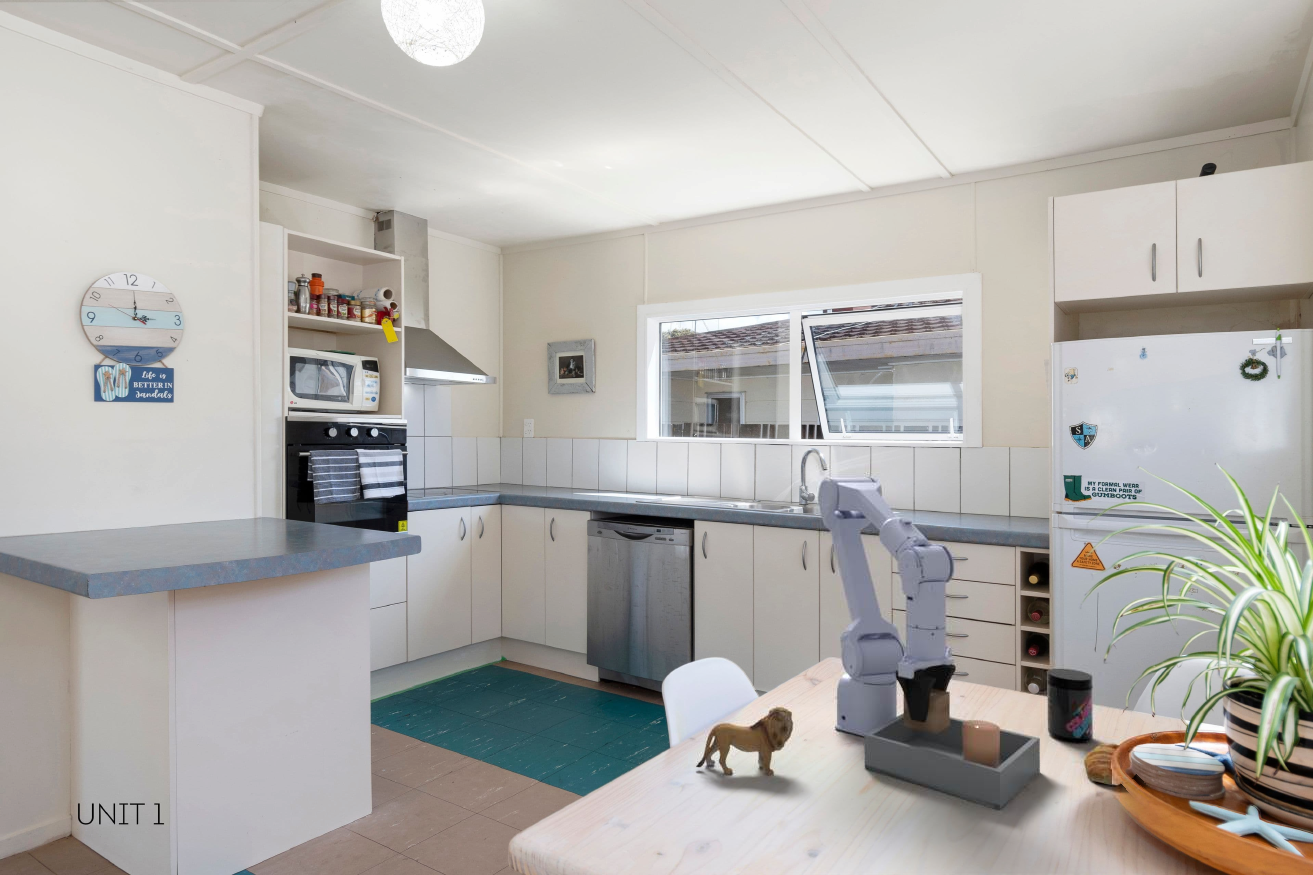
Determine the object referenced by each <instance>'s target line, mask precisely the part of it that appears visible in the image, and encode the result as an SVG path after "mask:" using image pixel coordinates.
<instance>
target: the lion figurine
mask: <svg viewBox="0 0 1313 875" xmlns="http://www.w3.org/2000/svg"><path fill="white" fill-rule="evenodd" d="M792 714H793V713H792V711H791V710H789V709H788V708H785V707H783V706H776V707H774V708H771V709H769V711H768V714H767V715H765V716H764V717H763V718H760V719H759V720H758V721H756V722H755V723H754V724H752V725H750V726H741V725H736V724H733V723H730V722H723V723H719V724H717V725H715V726H713V728H712V729H711V731H710V732H709V733H708V737H707V738H706V743H705V748H704V753H703V757H701V760H700V761H699V762H698V763H697V765H696V766H695V767H696V768H702V767H703V765H704V764H705V763H706V764H707V765H708V766H715V764H716V761H715V760H713V759H712V757H713V755H714V754H715V753H717V752H719V759H718V763H719V765H720V767H721V769H722V771H723V772H724V774H726V775H733V773H734V772H733V769H732V768H731V767H728V766H727V763H726V760H727V757H728V755H729V753H730V749H731V746H732V747H734V748H735V749H737V750H738V751H741V752H745V753H758V755H757V756H758V758H757V763H758V766H759V767H760V768H763V770H764V773H765V774H766V775H768V776H773V775H774V774H775V771H774V769H772V768H771V761H772V756H773V755H772V754H773V752H778V751H781V750H782V749H783V748H784V747H785V744H786V743H787V742H788V740H789V739H790V738H791V735H792V732H793V730H794V729H793V728H794V722H793V721H794V720H793V719H792V717H793V715H792ZM713 738H714V739H713ZM712 740H713V742H712Z"/></svg>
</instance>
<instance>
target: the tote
mask: <svg viewBox="0 0 1313 875" xmlns="http://www.w3.org/2000/svg"><path fill="white" fill-rule="evenodd" d="M964 721H966V720H965V719H961V718H956V717H951V716H950V726H948V727H947V728H945V729H943V730H942V731H940V732H939V733H937V734H933V733H929V732H925V731H921V730H918V729H914V728H910V727H906V726H904V712H903V713H901V714H900V715H897V717H896V718H894V719H892V720H890V721H889V722H887V723H885V724H883V725H881V726H880V727H878V728H876V729H874V730H872V731H871V732H869V733H867V734H865V737H864V769H866V770H868V771H873V772H875V773H878V774H881V775H885V776H887V777H891V778H894V779H897V780H901V781H904V782H908V783H911V784H914V785H917V786H921V787H924V788H926V789H927V788H928V789H931V790H934V791H937V792H940V793H943V794H947V795H950V796H953V797H956V798H958V799H963V800H966V801H969V802H973V803H975V804H978V805H982V806H986V807H989V808H993V809H996V810H999V811H1001V810H1002V809H1004V808H1005V807H1006V805H1007V804H1009V802H1010V801H1012V799H1013V798H1015V797H1016V796H1017V795H1018V794H1019V793H1020V792H1021V791H1022V790H1023V789H1024V788H1025V787H1026V786H1028V785H1029V783H1030V782H1031V781H1032V780H1033V779H1034V778H1035V777H1037V775H1038V774H1040V772H1041V765H1040V764H1041V763H1040V762H1041V746H1040V745H1041V744H1040V738H1039V737H1036V736H1031V735H1027V734H1024V733H1020V732H1016V731H1011V730H1007V729H1003V728H1000V766H999V767H997V768H992V767H988V766H985V765H981V764H977V763H974V762H970V761H966V760H963V740H962V723H963V722H964Z"/></svg>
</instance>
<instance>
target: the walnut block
mask: <svg viewBox="0 0 1313 875" xmlns="http://www.w3.org/2000/svg"><path fill="white" fill-rule="evenodd" d="M950 698H951V696H950V692H949V691H947V690H946V691H942V690H937V689H932V690H931V694H930V698H929V706H928V714H927V718H926V722H919V721H915V720H911V718H910V714H909V710H908V706H907V702H906V698H905V695H904V694H903V713H904V726H906V727H910V728H914V729H918V730H921V731H925V732H929V733H933V734H937V733H939V732H940V731H942V730H943V729H945V728H947V727H948V726H950V717H951V716H950V715H951V714H950V712H951V711H950V710H951V708H950V705H951V704H950V702H951V701H950V700H951V699H950Z"/></svg>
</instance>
